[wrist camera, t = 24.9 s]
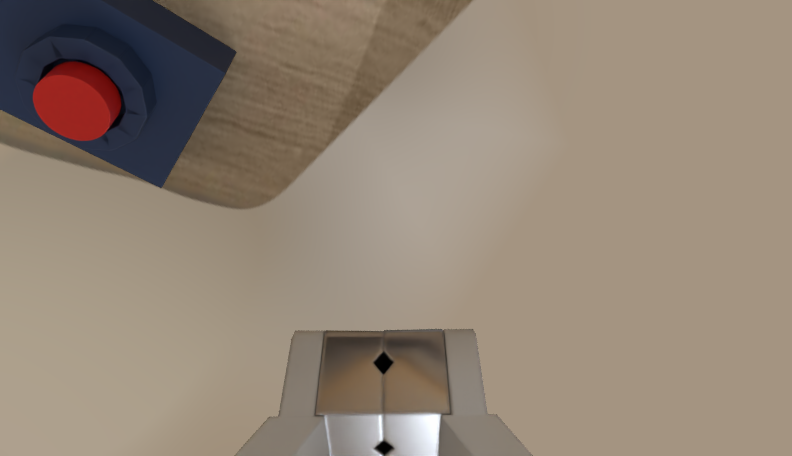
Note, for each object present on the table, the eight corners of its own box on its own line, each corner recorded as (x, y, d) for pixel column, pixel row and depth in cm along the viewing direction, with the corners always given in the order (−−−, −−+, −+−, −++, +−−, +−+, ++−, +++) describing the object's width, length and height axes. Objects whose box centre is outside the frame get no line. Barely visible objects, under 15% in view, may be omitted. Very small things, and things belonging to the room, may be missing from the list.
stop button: (131, 86, 33) (120, 101, 32) (108, 137, 35) (96, 153, 34) (58, 47, 32) (44, 60, 31) (38, 102, 34) (24, 117, 33)
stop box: (236, 51, 37) (218, 87, 33) (174, 162, 42) (152, 204, 38) (36, -71, 32) (-12, -46, 29) (-6, 70, 38) (-52, 107, 34)
